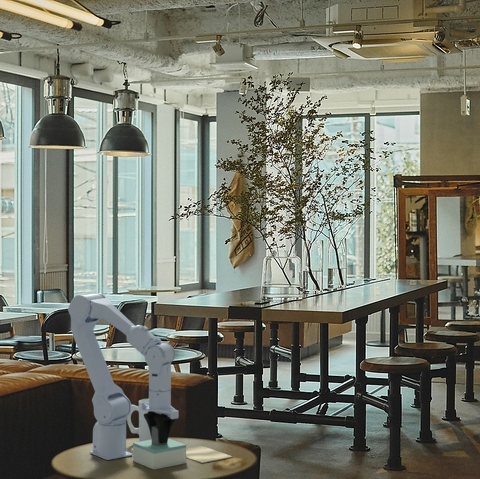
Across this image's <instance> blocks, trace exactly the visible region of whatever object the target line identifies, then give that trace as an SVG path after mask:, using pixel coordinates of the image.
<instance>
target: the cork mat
mask: <svg viewBox="0 0 480 479" xmlns="http://www.w3.org/2000/svg"><path fill="white" fill-rule="evenodd" d="M232 458H234V457H233V455H230V454H226V453H223V452H221V451H219V450H218V451H217V450H215V449H212V448H210V447H206V446H203V445H199V446H194V447H188V448H187V447H186V459H189V460H192V461H194V462H196V463H199V464H202V465H203V464H208V463H212V462H217V461H222V460H227V459H232Z"/></svg>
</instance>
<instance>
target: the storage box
mask: <svg viewBox="0 0 480 479" xmlns="http://www.w3.org/2000/svg"><path fill="white" fill-rule="evenodd" d="M186 449H187V447H186V448H182V449H177V450H172V451H166V452H161V453H156V454H153V453H151V452H148V451H145V450H143V449H140V448H138V447H135V446H133V445H132V462H134V463H137V464H140V465H143V466H145V467H147V468H149V469H151V470H157V469H162V468H164V469H165V468H168V467H173V466H178V465H182V464H186V463H187V458H186Z"/></svg>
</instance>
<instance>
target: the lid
mask: <svg viewBox="0 0 480 479" xmlns="http://www.w3.org/2000/svg"><path fill="white" fill-rule="evenodd" d="M133 446H135V447H138V448H140V449H143V450H145V451H148V452H151V453H153V454H156V453H161V452H166V451H172V450H177V449H182V448H186V449H187V444H185V443H183V442H180V441H178V440H174V439H171V438H169V437H168V441H167V443H162V444H161V443H159V438H158V428H157V426H152V440H146V441H140V442H139V441H136V442H135V441H134V442H132V447H133Z"/></svg>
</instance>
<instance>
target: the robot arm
mask: <svg viewBox="0 0 480 479" xmlns="http://www.w3.org/2000/svg"><path fill="white" fill-rule="evenodd" d="M67 311H68V314H69V315H70V328H71V329H70V330H71V334H72V336H73V339H74V342H75V344H76V347H77V350H78V352H79V354H80V357H81V359H82V362H83V364H84V367H85V369H86V372H87V376H88V377H89V379H90V382H91V385H92V387H93V390H94V394H93V396H92V399H91V402H92V406H93V415H94V418H95V419H96V422H95V424H94V426H93V428H92V450H90V451H89V454H91V455H94V456H96V457H99V458H101V459H103V460H105V461H110V460H116V459H120V458H125V457H126V458H127V457H131V456H132V457H133V452H132V453H131V452H130V451H127V416H128V415H129V413H130V411H131V405H132V403H131V400H130V399H129V398H128V397H127V395H126V394H125V392H124V390H123V389H122V388H121V387H120V386H118V385H117V384H116V383H114V379H113V376H112V375H111V372H110V370H109V368H108V365H107V362H106V359H105V357H104V354H103V352H102V350H101V346H100V344H99V342H98V339H97V337H96V335H95V332H94V330H95V327H96V324H97V323H98V322H99V321H100V320H105V321H106V322H108V323H109V324H111V325H112V327H115V328H116V329H117V330H119V331H120V332H121V333H122V334H124V335H125V336H126V342H127V343H128V344H129V345H130V346H131V347H133V348H134V349H135V350H136V351H137V352H139V354H141V355H142V356H144V361H145V363H146V365H147V367H148V399H149V402H142V410H146V411H148V413H146V414H144V418H145V420H146V421H147V424H148V427H149V430H150V434H151V438H152V426H157V428H158V438H159V443H161V444H162V443H167V441H168V438H169V437H170V433H171V429H172V428H173V424H174V423H175V421H176V419H179V412H180V411H179V410H177V409H176V408H174V407H173V406H172V402H171V401H172V400H171V399H172V394H171V393H172V362H174V360H175V357H176V351H175V349H174V347H173V345H171V343H170V342H167V341H162V339H161V338H160V337H156V336H155V335H154V334H153V333H152V332H150V331H149V327H148V326H147V325H142V324H137V325H135V324H134V323H133V322H132V321H131V320H130V319H128V318H127V317H126V315H124V314H123V312H121V311H120V310H119V309H118V308H117V307H116V306H115V305H114V304H113V303H112V301H111V299H110V298H108V297H107V296H105V295H104V294H103V293H102V292H101V293H100V292H94V293H89V294H83V295H82V294H77V295H75V296H73V298H72V299H71V301H70V303H69V305H68V308H67Z"/></svg>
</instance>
